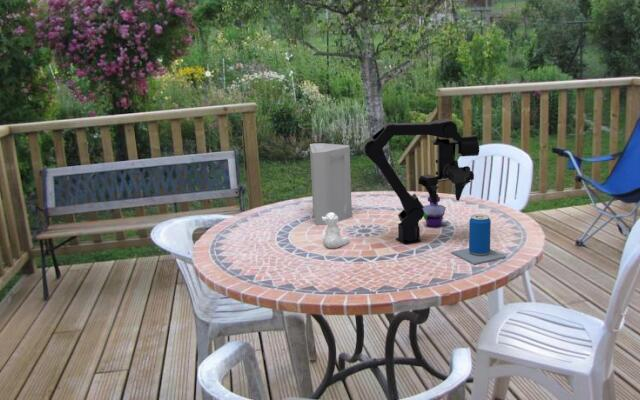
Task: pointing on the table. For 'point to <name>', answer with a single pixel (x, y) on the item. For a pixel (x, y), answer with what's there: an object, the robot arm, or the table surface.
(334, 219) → the sitting furry creature
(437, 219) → the potion bottle
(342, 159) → the gray triangular prism
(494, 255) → the mat
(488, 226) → the beverage can
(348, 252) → the table surface
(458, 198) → the robot arm
